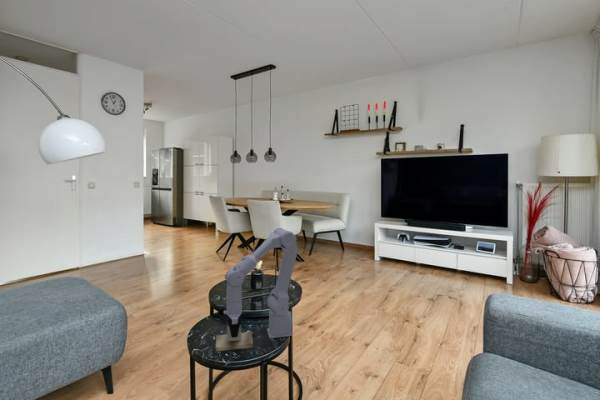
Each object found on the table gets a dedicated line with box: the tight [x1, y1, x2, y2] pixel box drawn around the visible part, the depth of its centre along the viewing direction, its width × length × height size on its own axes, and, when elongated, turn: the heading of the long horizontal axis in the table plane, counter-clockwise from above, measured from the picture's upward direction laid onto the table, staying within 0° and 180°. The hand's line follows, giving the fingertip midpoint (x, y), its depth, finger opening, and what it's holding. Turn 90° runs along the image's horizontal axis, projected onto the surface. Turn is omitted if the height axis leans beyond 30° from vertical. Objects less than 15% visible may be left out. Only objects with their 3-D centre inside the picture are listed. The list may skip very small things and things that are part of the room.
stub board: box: [215, 331, 254, 352], centre depth 122 cm, size 14×9×4 cm, turn 104°
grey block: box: [226, 323, 242, 341], centre depth 122 cm, size 5×5×6 cm
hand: (234, 333), depth 122 cm, fingers closed on grey block, 5 cm apart
